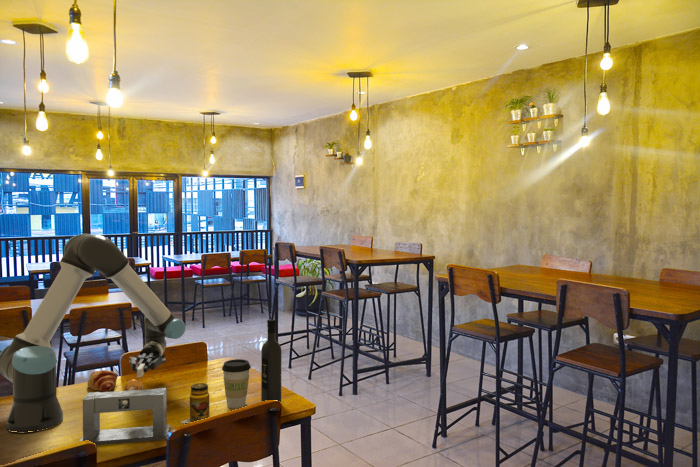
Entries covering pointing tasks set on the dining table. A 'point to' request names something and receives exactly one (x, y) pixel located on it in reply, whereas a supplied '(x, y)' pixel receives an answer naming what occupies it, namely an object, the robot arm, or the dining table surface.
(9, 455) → the dining table surface
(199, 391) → the condiment
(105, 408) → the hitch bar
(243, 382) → the coffee cup
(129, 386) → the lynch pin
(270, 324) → the wine bottle
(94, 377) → the croissant
